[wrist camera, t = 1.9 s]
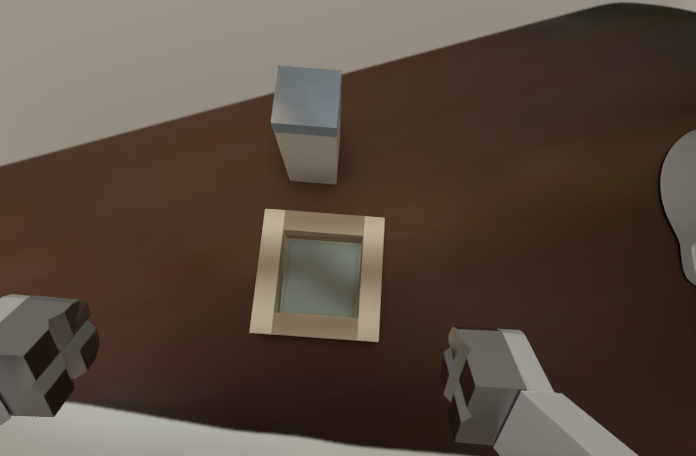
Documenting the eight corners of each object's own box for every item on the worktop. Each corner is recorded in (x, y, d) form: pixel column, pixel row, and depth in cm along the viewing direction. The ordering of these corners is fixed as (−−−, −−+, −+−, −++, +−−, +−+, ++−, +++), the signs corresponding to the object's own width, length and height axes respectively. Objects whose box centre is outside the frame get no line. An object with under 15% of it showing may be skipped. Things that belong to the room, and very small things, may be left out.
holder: (373, 340, 30) (378, 342, 27) (259, 331, 30) (249, 332, 27) (379, 228, 33) (384, 217, 29) (272, 220, 32) (265, 208, 29)
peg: (336, 184, 33) (336, 128, 24) (289, 181, 33) (270, 122, 24) (340, 141, 34) (341, 70, 25) (294, 138, 34) (278, 65, 25)
